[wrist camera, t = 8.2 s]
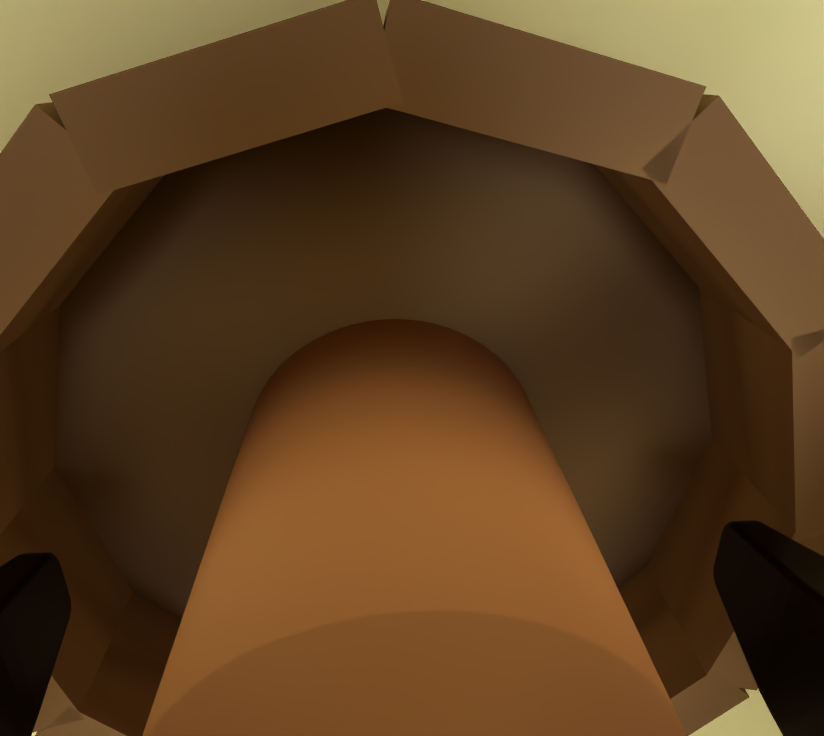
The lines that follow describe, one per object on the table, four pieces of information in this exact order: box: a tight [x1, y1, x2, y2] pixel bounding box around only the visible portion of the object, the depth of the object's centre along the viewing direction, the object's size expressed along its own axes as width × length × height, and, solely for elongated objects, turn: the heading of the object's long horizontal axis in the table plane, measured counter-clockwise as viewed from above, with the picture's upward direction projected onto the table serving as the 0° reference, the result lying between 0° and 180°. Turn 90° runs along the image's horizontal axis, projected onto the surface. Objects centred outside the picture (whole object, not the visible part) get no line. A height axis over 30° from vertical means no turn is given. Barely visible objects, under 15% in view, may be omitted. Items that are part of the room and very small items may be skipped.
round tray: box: [0, 0, 824, 736], centre depth 10 cm, size 13×13×3 cm
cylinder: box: [142, 319, 687, 736], centre depth 9 cm, size 5×5×6 cm
